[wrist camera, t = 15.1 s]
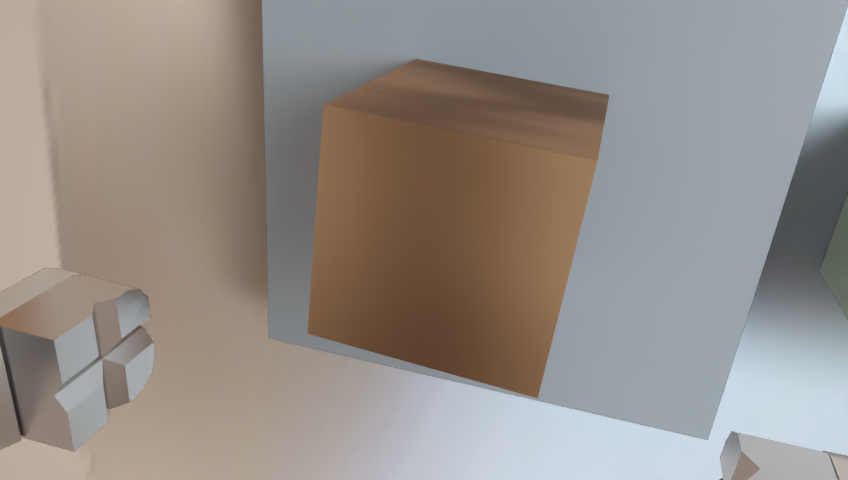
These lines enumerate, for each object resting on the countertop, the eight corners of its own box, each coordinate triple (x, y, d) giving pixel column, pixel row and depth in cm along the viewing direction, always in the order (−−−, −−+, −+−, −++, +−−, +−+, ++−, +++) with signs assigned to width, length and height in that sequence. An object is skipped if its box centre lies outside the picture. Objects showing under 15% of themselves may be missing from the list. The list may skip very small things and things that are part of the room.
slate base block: (829, -87, 17) (879, -95, 14) (695, 364, 23) (707, 440, 20) (323, -124, 20) (259, -138, 17) (317, 285, 26) (268, 338, 23)
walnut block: (609, 95, 17) (597, 161, 11) (564, 272, 19) (537, 398, 14) (416, 58, 18) (323, 104, 12) (394, 231, 20) (307, 333, 15)
